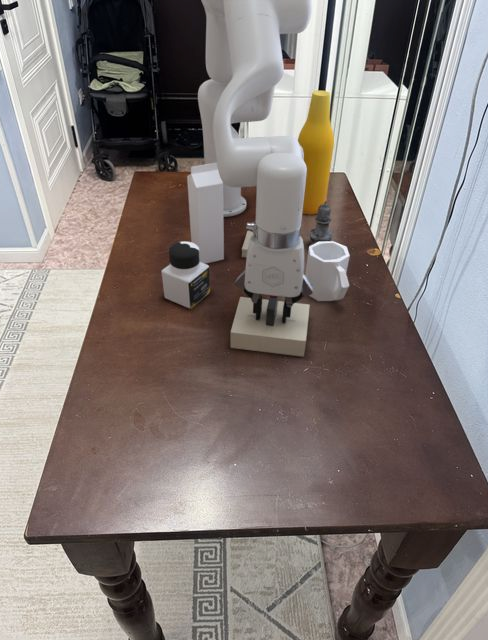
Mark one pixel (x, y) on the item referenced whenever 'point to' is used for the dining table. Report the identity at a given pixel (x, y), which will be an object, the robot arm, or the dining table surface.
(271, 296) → the knob
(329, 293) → the mug
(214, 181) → the milk
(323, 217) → the gray chess piece
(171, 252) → the medicine bottle
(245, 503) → the dining table surface
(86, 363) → the dining table surface
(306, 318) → the beige flat block
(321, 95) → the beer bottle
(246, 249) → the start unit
